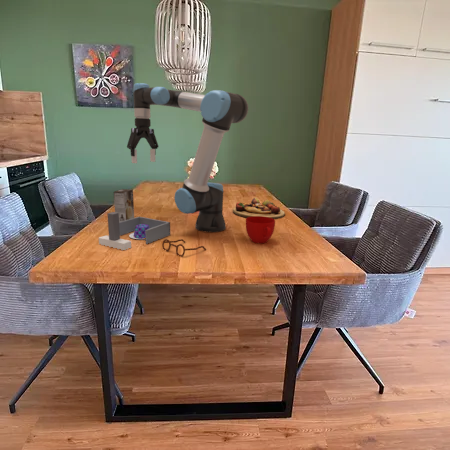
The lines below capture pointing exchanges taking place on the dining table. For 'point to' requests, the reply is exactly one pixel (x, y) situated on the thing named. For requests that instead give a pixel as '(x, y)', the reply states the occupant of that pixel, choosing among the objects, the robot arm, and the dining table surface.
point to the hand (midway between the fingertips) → (144, 162)
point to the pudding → (139, 231)
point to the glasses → (178, 246)
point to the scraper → (114, 234)
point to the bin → (154, 233)
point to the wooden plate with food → (258, 209)
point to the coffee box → (124, 204)
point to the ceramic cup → (260, 228)
